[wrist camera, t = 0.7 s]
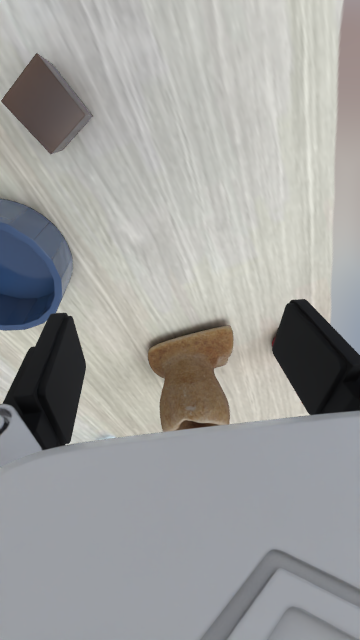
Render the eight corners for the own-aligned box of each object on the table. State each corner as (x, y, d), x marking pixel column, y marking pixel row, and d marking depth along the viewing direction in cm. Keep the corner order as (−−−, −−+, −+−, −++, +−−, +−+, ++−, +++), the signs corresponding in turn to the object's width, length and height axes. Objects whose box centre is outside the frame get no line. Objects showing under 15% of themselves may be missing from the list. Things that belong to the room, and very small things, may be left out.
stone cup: (159, 382, 51) (166, 459, 39) (141, 339, 44) (142, 419, 32) (233, 363, 51) (263, 436, 39) (227, 317, 43) (261, 390, 31)
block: (20, 104, 24) (0, 101, 21) (52, 63, 23) (36, 52, 19) (62, 150, 27) (50, 154, 23) (93, 116, 25) (85, 114, 22)
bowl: (-81, 223, 29) (-127, 244, 24) (29, 179, 28) (5, 192, 23) (5, 313, 37) (-16, 343, 32) (92, 282, 36) (85, 309, 31)
